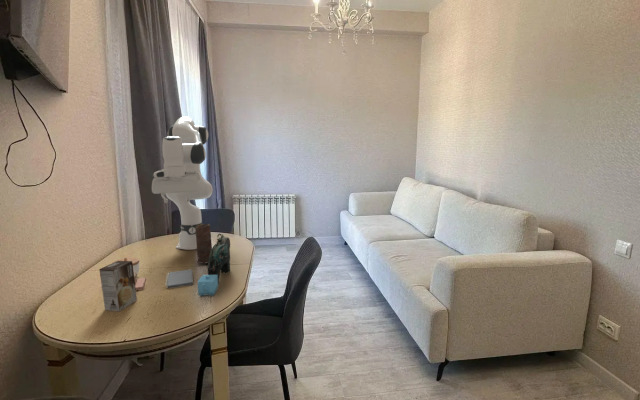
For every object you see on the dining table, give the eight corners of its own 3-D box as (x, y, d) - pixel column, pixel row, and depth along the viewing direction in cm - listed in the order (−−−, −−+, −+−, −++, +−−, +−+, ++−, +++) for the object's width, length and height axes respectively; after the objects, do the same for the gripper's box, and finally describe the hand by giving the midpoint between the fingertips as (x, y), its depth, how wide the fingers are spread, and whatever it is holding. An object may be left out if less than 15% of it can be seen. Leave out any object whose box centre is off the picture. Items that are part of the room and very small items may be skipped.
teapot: (211, 300, 128) (210, 282, 126) (195, 301, 127) (194, 283, 126) (219, 287, 139) (218, 270, 138) (204, 288, 139) (203, 271, 138)
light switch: (125, 283, 144) (123, 271, 143) (145, 280, 147) (144, 269, 146) (121, 292, 135) (119, 280, 134) (143, 289, 138) (141, 277, 137)
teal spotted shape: (222, 269, 160) (219, 229, 156) (235, 269, 159) (233, 229, 156) (205, 286, 140) (202, 241, 137) (220, 287, 140) (217, 241, 136)
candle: (208, 266, 164) (205, 226, 161) (194, 265, 165) (191, 226, 162) (215, 260, 171) (213, 223, 168) (202, 259, 173) (200, 222, 169)
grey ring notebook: (167, 275, 153) (167, 272, 153) (192, 271, 157) (192, 269, 157) (165, 288, 138) (165, 286, 138) (192, 284, 142) (192, 282, 142)
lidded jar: (131, 271, 157) (128, 252, 156) (146, 275, 153) (144, 256, 151) (108, 280, 148) (105, 260, 146) (123, 284, 143) (121, 263, 142)
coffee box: (123, 298, 130) (118, 259, 127) (137, 300, 128) (133, 260, 126) (104, 310, 121) (98, 268, 118) (119, 311, 120) (114, 269, 117)
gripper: (198, 170, 157) (200, 199, 160) (151, 172, 150) (154, 202, 152) (199, 171, 152) (201, 201, 154) (149, 173, 144) (152, 204, 147)
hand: (177, 202), depth 153 cm, fingers open, 8 cm apart
